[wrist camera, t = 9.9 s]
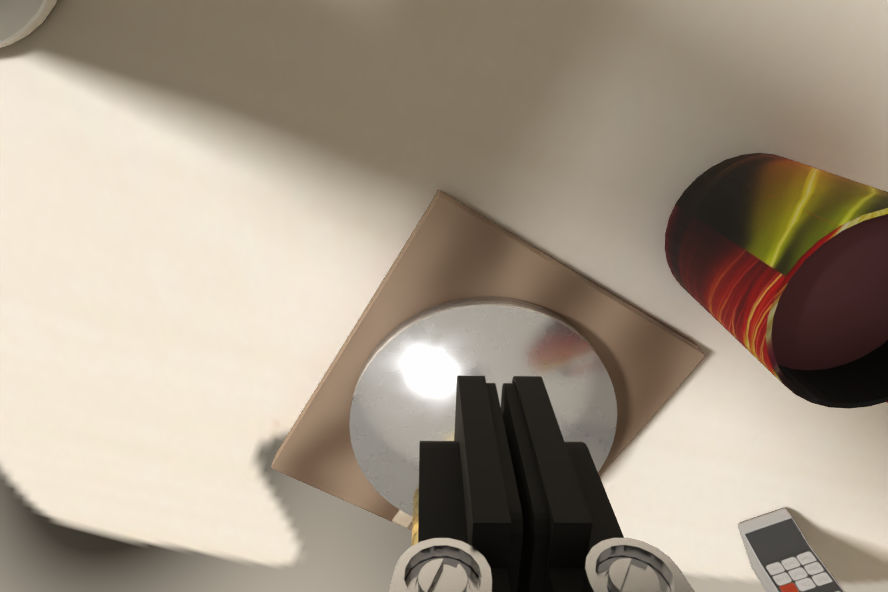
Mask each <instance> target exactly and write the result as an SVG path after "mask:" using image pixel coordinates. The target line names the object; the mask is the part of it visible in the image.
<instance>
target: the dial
mask: <svg viewBox="0 0 888 592" xmlns="http://www.w3.org/2000/svg"><path fill="white" fill-rule="evenodd" d="M457 376H485V379H486V383H495V384H496V388H497V393H498V397H499V402H500V407H501V395H502V386H503V383H512V379H513V377H514V376H541V377H542V379H543V382H544V384H545V387H546V390H547V393H548V396H549V399H550V402H551V405H552V407H553V410H554V413H555V416H556V419H557V422H558V425H559V428H560V430H561V433H562V436H563V439H564V442H584V443H586V445H587V447H588V449H589V452H590V454H591V457H592V459H593V462H594V464H595V467H596V469H597V472H599V470H600V468H601V467H602V465H603V463H604V462H605V460H606V458H607V456H608V454H609V451H610V449H611V446H612V444H613V440H614V436H615V432H616V424H617V402H616V396H615V392H614V388H613V384H612V382H611V379H610V377H609V374H608V372H607V370H606V368H605V366H604V365H603V363H602V361H601V359H600V357H599V356H598V354H597V352H596V351H595V349H594V347H593V346H592V345H591V344H590V342H589V341H588V340H587V339H586V338H585V336H584V335H583V334H582V333H581V332H580V331H579V330H577V329H576V328H575V327H574V326H573V325H572V324H571V323H569V322H568V321H566V320H565V319H563V318H562V317H560V316H559V315H557V314H555V313H553V312H551V311H549V310H547V309H545V308H543V307H540V306H537V305H534V304H531V303H528V302H526V301H521V300H516V299H511V298H503V297H490V296H489V297H470V298H464V299H458V300H452V301H449V302H445V303H442V304H439V305H435V306H433V307H431V308H428V309H426V310H424V311H421V312H419V313H417V314H416V315H414V316H412V317H410V318H409V319H407V320H405V321H404V322H402V323H401V324H400V325H398V326H397V327H396V328H394V329H393V330H392V331H391V332H389V333H388V334H387V335H386V336H385V337H384V338H383V340H382V341H381V342H380V343H379V344H378V345H377V346H376V347H375V349H374V350H373V351H372V353H371V354H370V355H369V357H368V358H367V360H366V362H365V364H364V366H363V368H362V369H361V372H360V374H359V377H358V380H357V383H356V385H355V390H354V395H353V400H352V405H351V410H350V425H349V429H350V437H351V444H352V447H353V451H354V455H355V457H356V460H357V462H358V464H359V466H360V468H361V470H362V472H363V473H364V475H365V477H366V478H367V480H368V481H369V483H370V484H371V485H372V486H373V487H374V488H375V489H376V491H377V492H378V493H379V494H380V495H381V496H383V497H384V498H385V499H386V500H387V501H388V502H389V503H391V504H392V505H394V506H395V507H396V508H398V509H399V510H401V511H402V512H404V513H406V514H408V515H410V516H412V546H413V545H415V544H417V543H418V508H419V443H420V441H454V434H455V411H456V387H457Z"/></svg>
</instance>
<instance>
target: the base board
mask: <svg viewBox="0 0 888 592" xmlns="http://www.w3.org/2000/svg"><path fill="white" fill-rule="evenodd" d="M489 296H490V297H503V298H511V299H516V300H521V301H526V302H528V303H531V304H534V305H537V306H540V307H543V308H545V309H547V310H549V311H551V312H553V313H555V314H557V315H559V316H560V317H562V318H563V319H565V320H566V321H568V322H569V323H571V324H572V325H573V326H574V327H575V328H576V329H577V330H579V331H580V332H581V333H582V334H583V335H584V336H585V338H586V339H587V340H588V341H589V342H590V344H591V345H592V346H593V347H594V349H595V351H596V352H597V354H598V356H599V357H600V359H601V361H602V363H603V365H604V366H605V368H606V370H607V372H608V374H609V377H610V379H611V382H612V384H613V388H614V392H615V396H616V402H617V424H616V432H615V436H614V440H613V444H612V446H611V449H610V451H609V454H608V456H607V458H606V460H605V462H604V463H603V465H602V467H601V468H600V470H599V472H598V474H599V476H600V475H601V474H602V473H603V472H604V471H605V470H606V468H607V467H608V466H609V465H610V464H611V463H612V462H613V460H614V459H615V458H616V457H617V456H618V455H619V454H620V452H621V451H622V450H623V449H624V448H625V447H626V446H627V444H628V443H629V442H630V441H631V440H632V439H633V438H634V436H635V435H636V434H637V433H638V432H639V431H640V430H641V428H642V427H643V426H644V425H645V424H646V423H647V422H648V420H649V419H650V418H651V417H652V416H653V415H654V414H655V412H656V411H657V410H658V409H659V408H660V407H661V406H662V404H663V403H664V402H665V401H666V400H667V399H668V398H669V396H670V395H671V394H672V393H673V392H674V391H675V390H676V388H677V387H678V386H679V385H680V384H681V383H682V382H683V380H684V379H685V378H686V377H687V376H688V375H689V374H690V372H691V371H692V370H693V369H694V368H695V367H696V366H697V364H698V363H699V362H700V361H701V360H702V359H703V358H704V357H705V354H704V353H703V352H702V351H701V350H700V349H699V348H698V347H697V345H696V344H694V343H692V342H691V341H689V340H687V339H686V338H684V337H682V336H681V335H679V334H677V333H676V332H674V331H672V330H671V329H669V328H667V327H666V326H664V325H662V324H661V323H659V322H657V321H656V320H654V319H652V318H651V317H649V316H647V315H646V314H644V313H642V312H641V311H639V310H638V309H636V308H634V307H633V306H631V305H629V304H628V303H626V302H624V301H623V300H621V299H619V298H618V297H616V296H614V295H613V294H611V293H609V292H608V291H606V290H604V289H603V288H601V287H599V286H598V285H596V284H594V283H593V282H591V281H589V280H588V279H586V278H584V277H583V276H581V275H579V274H578V273H576V272H574V271H573V270H571V269H569V268H568V267H566V266H564V265H563V264H561V263H559V262H558V261H556V260H554V259H553V258H551V257H549V256H548V255H546V254H544V253H543V252H541V251H539V250H538V249H536V248H534V247H533V246H531V245H529V244H528V243H526V242H524V241H523V240H521V239H519V238H518V237H516V236H514V235H513V234H511V233H509V232H508V231H506V230H504V229H503V228H501V227H499V226H498V225H496V224H495V223H493V222H491V221H490V220H488V219H486V218H485V217H483V216H481V215H480V214H478V213H476V212H475V211H473V210H471V209H470V208H468V207H466V206H465V205H463V204H461V203H460V202H458V201H456V200H455V199H453V198H451V197H450V196H448V195H446V194H445V193H443V192H441V191H440V190H439V191H438V192H437V194H436V196H435V197H434V199H433V200H432V202H431V204H430V205H429V207H428V209H427V210H426V212H425V213H424V215H423V217H422V218H421V220H420V221H419V223H418V225H417V226H416V228H415V230H414V231H413V233H412V234H411V236H410V238H409V239H408V241H407V243H406V244H405V246H404V247H403V249H402V251H401V252H400V254H399V255H398V257H397V259H396V260H395V262H394V264H393V265H392V267H391V268H390V270H389V272H388V273H387V275H386V276H385V278H384V280H383V281H382V283H381V285H380V286H379V288H378V289H377V291H376V293H375V294H374V296H373V298H372V299H371V301H370V302H369V304H368V306H367V307H366V309H365V310H364V312H363V314H362V315H361V317H360V319H359V320H358V322H357V323H356V325H355V327H354V328H353V330H352V332H351V333H350V335H349V336H348V338H347V340H346V341H345V343H344V344H343V346H342V348H341V349H340V351H339V353H338V354H337V356H336V357H335V359H334V361H333V362H332V364H331V366H330V367H329V369H328V370H327V372H326V374H325V375H324V377H323V378H322V380H321V382H320V383H319V385H318V387H317V388H316V390H315V391H314V393H313V395H312V396H311V398H310V400H309V401H308V403H307V404H306V406H305V408H304V409H303V411H302V412H301V414H300V416H299V417H298V419H297V421H296V422H295V424H294V425H293V427H292V429H291V430H290V432H289V433H288V435H287V437H286V438H285V440H284V442H283V443H282V445H281V446H280V448H279V450H278V451H277V453H276V455H275V458H274V461H273V463H272V466H271V468H272V469H275V470H277V471H279V472H281V473H283V474H286V475H288V476H290V477H292V478H295V479H297V480H299V481H302V482H304V483H306V484H308V485H311V486H313V487H315V488H317V489H320V490H322V491H324V492H326V493H329V494H331V495H333V496H335V497H338V498H340V499H342V500H345V501H347V502H349V503H351V504H353V505H356V506H358V507H360V508H362V509H365V510H367V511H369V512H371V513H374V514H376V515H378V516H380V517H383V518H385V519H387V520H389V521H392V522H394V523H396V524H398V525H401V526H403V527H405V528H408V529H410V530H412V516H410V515H408V514H406V513H404V512H402V511H401V510H399V509H398V508H396V507H395V506H394V505H392V504H391V503H389V502H388V501H387V500H386V499H385V498H384V497H383V496H381V495H380V494H379V493H378V492H377V491H376V489H375V488H374V487H373V486H372V485H371V484H370V483H369V481H368V480H367V478H366V477H365V475H364V473H363V472H362V470H361V468H360V466H359V464H358V462H357V460H356V457H355V455H354V451H353V447H352V444H351V437H350V429H349V425H350V410H351V405H352V400H353V395H354V390H355V385H356V383H357V380H358V377H359V374H360V372H361V369H362V368H363V366H364V364H365V362H366V360H367V358H368V357H369V355H370V354H371V353H372V351H373V350H374V349H375V347H376V346H377V345H378V344H379V343H380V342H381V341H382V340H383V338H384V337H385V336H386V335H387V334H388V333H389V332H391V331H392V330H393V329H394V328H396V327H397V326H398V325H400V324H401V323H402V322H404V321H405V320H407V319H409V318H410V317H412V316H414V315H416V314H417V313H419V312H421V311H424V310H426V309H428V308H431V307H433V306H435V305H439V304H442V303H445V302H449V301H452V300H458V299H464V298H470V297H489Z"/></svg>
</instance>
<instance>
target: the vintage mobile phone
mask: <svg viewBox="0 0 888 592" xmlns="http://www.w3.org/2000/svg"><path fill="white" fill-rule="evenodd" d="M738 528H739V531H740V534H741V537H742V540H743V543H744V546H745V549H746V552H747V555H748V558H749V561H750V564H751V567H752V569H753V571H754V572H755V574H756V576H757V577H758V579H759V580H760V582H761V584H762V585H763V587H764V589H765V590H766V591H767V592H845V591H844V590H843V589H842V587H841V586H840V585H839V583H838V582H837V581H836V579H835V578H834V577H833V575H832V574H831V573H830V572H829V570H828V569H827V568H826V566H825V565H824V564H823V562H822V561H821V560H820V558H819V557H818V556H817V554H816V553H815V552H814V550H813V549H812V548H811V547H810V545H809V543H808V542H807V540H806V538H805V537H804V535H803V533H802V532H801V530H800V529H799V527H798V525H797V524H796V522H795V520H794V519H793V517H792V516H791V515H790V513H789V512H788V511H787V510H786V509H779V510H776V511H773V512H770V513H767V514H765V515H762V516H759V517H756V518H753V519H750V520H747V521H744V522H741V523H739V524H738Z"/></svg>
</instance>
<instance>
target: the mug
mask: <svg viewBox="0 0 888 592" xmlns="http://www.w3.org/2000/svg"><path fill="white" fill-rule="evenodd" d="M665 252H666V258H667V262H668V265H669V267H670V270H671V272H672V274H673V276H674V277H675V278H676V280H677V281H678V282H679V284H680V285H681V286H682V287H683V288H684V289H685V290H686V291H687V292H688V293H689V294H690V295H691V296H692V297H693V298H694V299H696V300H697V301H698V302H699V303H700V304H701V305H702V306H703V307H704V308H705V309H706V310H707V311H708V312H709V313H710V314H711V315H712V316H713V317H714V318H715V319H716V320H717V321H718V322H719V323H720V324H721V325H723V326H724V327H725V328H726V329H727V330H728V331H729V332H730V333H731V334H732V335H733V336H734V337H735V338H736V339H737V340H738V341H739V342H740V343H741V344H742V345H743V346H744V347H745V348H746V349H747V350H748V351H749V352H751V353H752V354H753V355H754V356H755V357H756V358H757V359H758V360H759V361H760V362H761V363H762V364H763V365H764V366H765V367H766V368H767V369H768V370H769V371H770V372H771V373H772V374H773V375H774V376H775V377H776V378H777V379H779V380H780V381H781V382H782V383H783V384H784V385H785V386H786V387H787V388H789V389H790V390H791V391H792V392H793V393H794V394H796V395H797V396H799V397H801V398H803V399H805V400H807V401H809V402H811V403H815V404H819V405H823V406H827V407H835V408H857V407H866V406H872V405H876V404H879V403H883V402H887V403H888V192H885V191H882V190H879V189H876V188H873V187H870V186H867V185H864V184H861V183H858V182H855V181H852V180H849V179H846V178H843V177H840V176H837V175H834V174H831V173H828V172H825V171H822V170H819V169H816V168H813V167H810V166H807V165H804V164H801V163H798V162H795V161H792V160H789V159H786V158H783V157H780V156H777V155H774V154H763V153H755V154H746V155H740V156H737V157H734V158H731V159H727V160H725V161H723V162H721V163H719V164H717V165H715V166H713V167H711V168H710V169H708V170H707V171H706V172H704V173H703V174H702V175H700V176H699V177H698V178H696V179H695V181H694V182H693V183H692V184H691V185H690V186H689V187H688V188H687V189H686V190H685V191H684V193H683V194H682V196H681V197H680V198H679V200H678V201H677V203H676V205H675V207H674V209H673V211H672V213H671V216H670V218H669V221H668V225H667V229H666V233H665Z"/></svg>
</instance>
